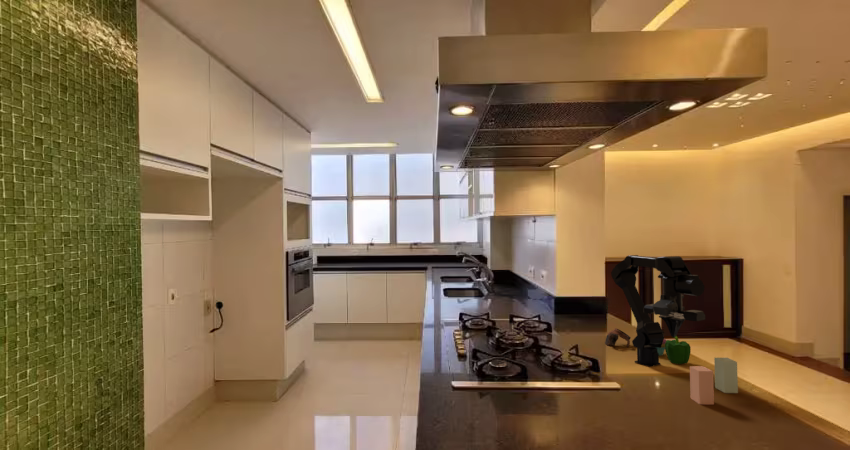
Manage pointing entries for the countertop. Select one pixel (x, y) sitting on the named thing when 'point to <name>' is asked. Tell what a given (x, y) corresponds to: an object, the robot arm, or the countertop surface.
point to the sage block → (726, 375)
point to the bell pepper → (677, 351)
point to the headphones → (616, 337)
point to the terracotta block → (701, 385)
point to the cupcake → (662, 347)
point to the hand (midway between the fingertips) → (673, 336)
